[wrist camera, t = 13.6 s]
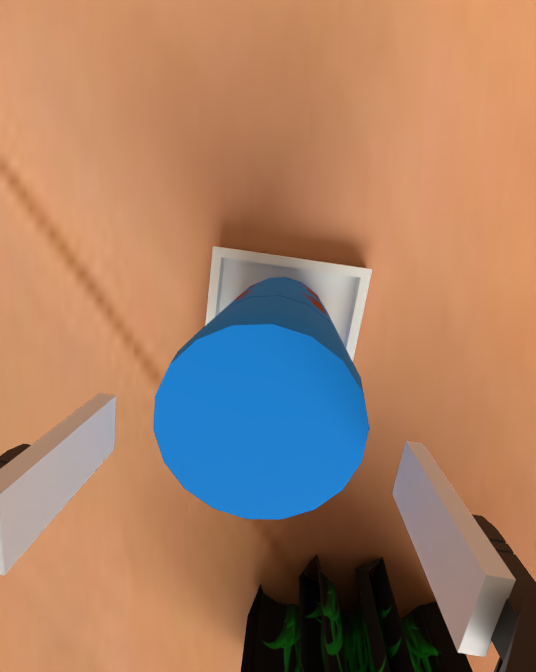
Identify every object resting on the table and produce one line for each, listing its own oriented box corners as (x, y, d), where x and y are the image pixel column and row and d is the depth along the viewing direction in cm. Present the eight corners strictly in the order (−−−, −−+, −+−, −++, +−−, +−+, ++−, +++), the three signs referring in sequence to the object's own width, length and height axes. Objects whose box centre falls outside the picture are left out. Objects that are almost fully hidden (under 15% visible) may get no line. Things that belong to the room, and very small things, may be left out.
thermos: (236, 366, 43) (162, 521, 19) (230, 277, 40) (134, 323, 16) (327, 364, 42) (371, 524, 18) (326, 273, 40) (377, 316, 15)
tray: (206, 368, 44) (200, 377, 42) (218, 246, 41) (212, 246, 38) (341, 389, 44) (344, 399, 41) (366, 267, 40) (372, 269, 37)
